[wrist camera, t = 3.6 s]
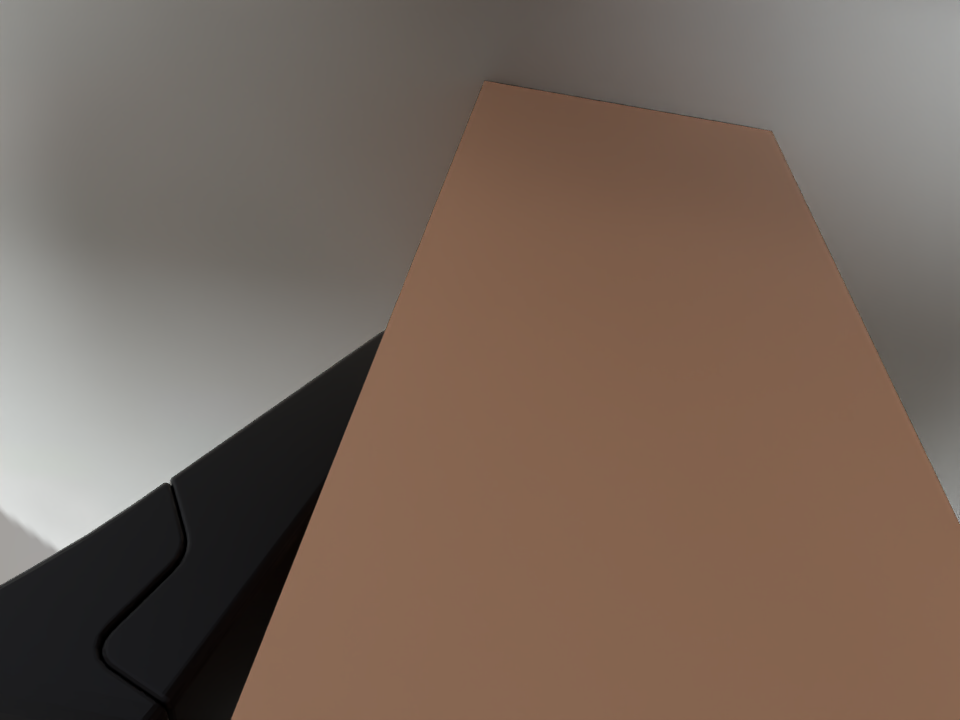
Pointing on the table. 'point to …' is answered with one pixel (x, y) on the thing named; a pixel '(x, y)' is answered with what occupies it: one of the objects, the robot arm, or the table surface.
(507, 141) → the peg
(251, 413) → the table surface
